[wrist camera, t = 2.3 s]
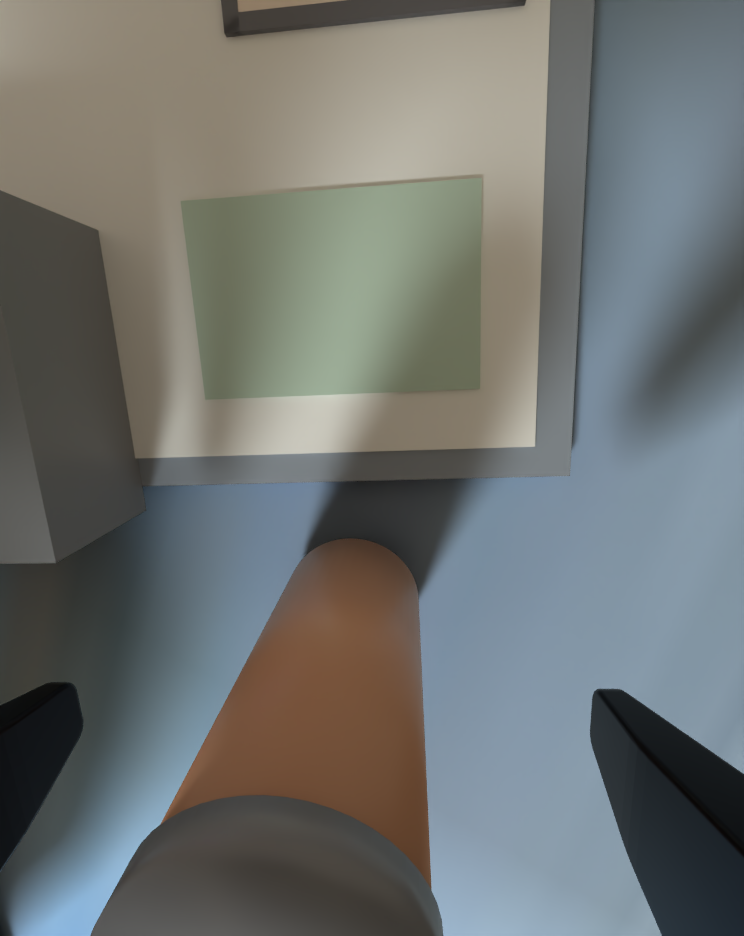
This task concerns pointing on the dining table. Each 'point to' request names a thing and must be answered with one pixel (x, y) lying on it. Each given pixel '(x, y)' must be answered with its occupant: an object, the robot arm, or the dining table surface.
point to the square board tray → (282, 247)
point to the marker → (304, 776)
